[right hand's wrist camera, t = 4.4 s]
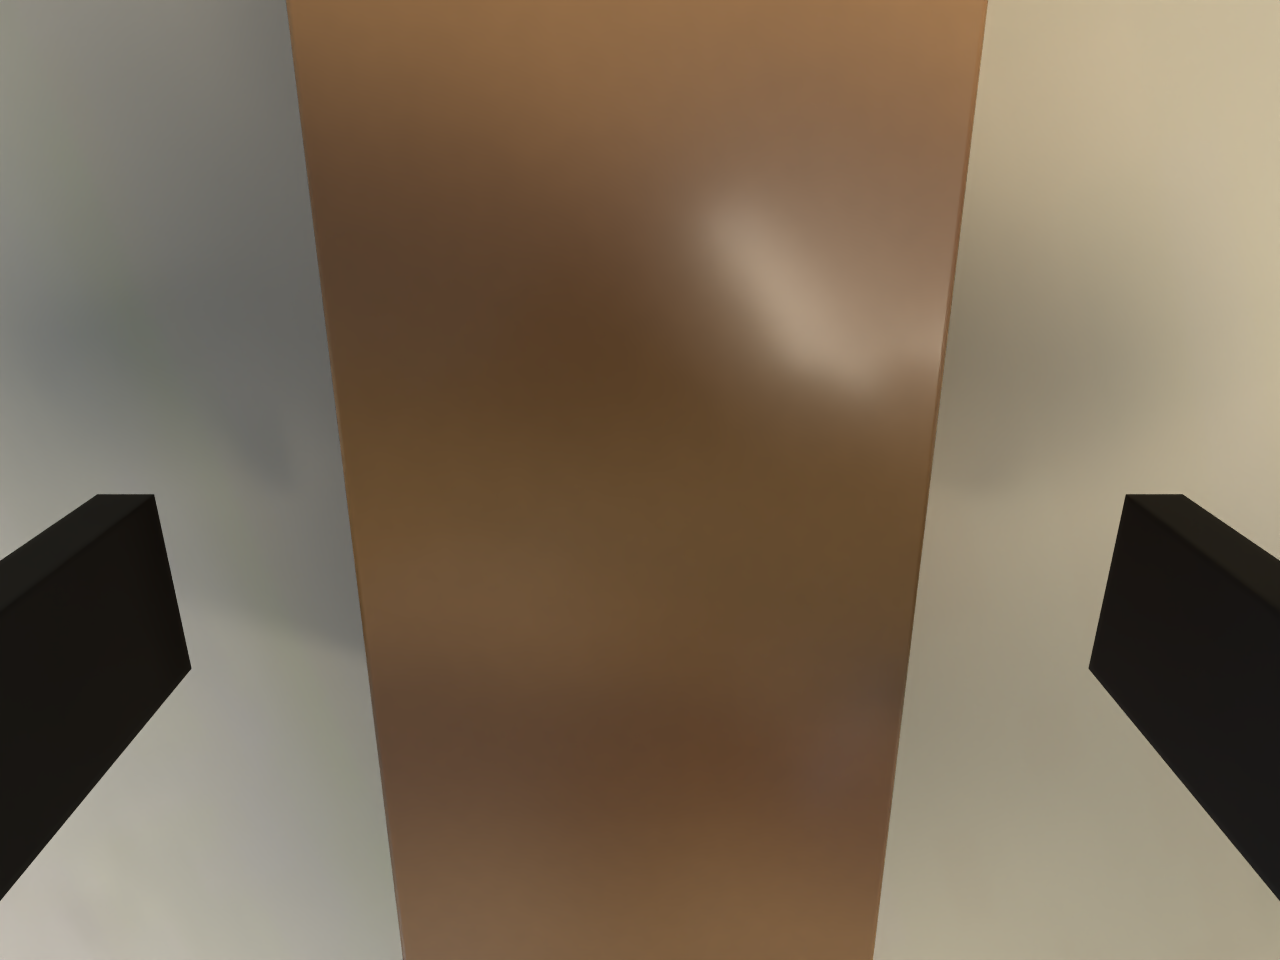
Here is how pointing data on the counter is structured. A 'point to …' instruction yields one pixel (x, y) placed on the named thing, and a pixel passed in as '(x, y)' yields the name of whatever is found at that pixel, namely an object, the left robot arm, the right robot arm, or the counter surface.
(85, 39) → the counter surface
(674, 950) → the post
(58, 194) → the counter surface
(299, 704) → the counter surface
